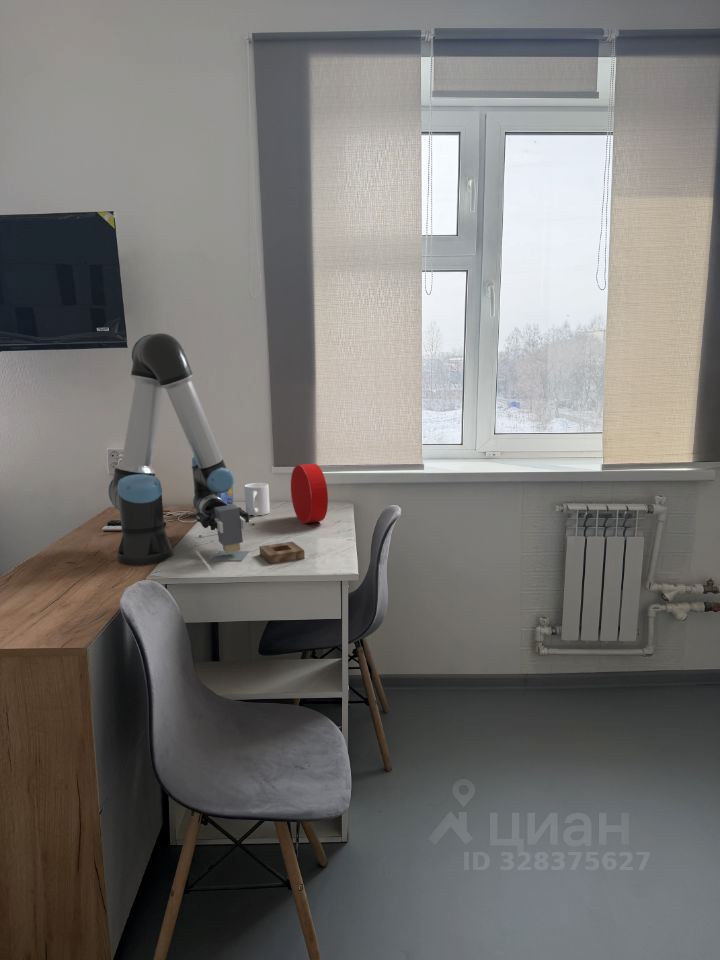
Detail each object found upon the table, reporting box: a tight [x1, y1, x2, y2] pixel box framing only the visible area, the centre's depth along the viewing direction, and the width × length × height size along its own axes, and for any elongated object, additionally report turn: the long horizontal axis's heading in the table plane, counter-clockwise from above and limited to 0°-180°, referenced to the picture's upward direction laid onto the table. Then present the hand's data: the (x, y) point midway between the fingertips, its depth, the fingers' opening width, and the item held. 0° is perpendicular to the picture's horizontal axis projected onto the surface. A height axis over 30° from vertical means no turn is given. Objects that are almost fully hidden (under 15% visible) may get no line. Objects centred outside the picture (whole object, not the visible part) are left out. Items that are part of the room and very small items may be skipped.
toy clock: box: [290, 463, 329, 524], centre depth 228 cm, size 20×6×20 cm, turn 25°
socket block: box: [259, 541, 306, 565], centre depth 188 cm, size 10×10×3 cm
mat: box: [209, 550, 250, 562], centre depth 190 cm, size 9×9×1 cm
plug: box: [215, 503, 244, 553], centre depth 188 cm, size 6×6×12 cm
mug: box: [244, 482, 271, 517], centre depth 240 cm, size 9×12×11 cm
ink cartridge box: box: [219, 485, 234, 505], centre depth 244 cm, size 10×6×14 cm, turn 163°
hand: (233, 526), depth 183 cm, fingers closed on plug, 6 cm apart
